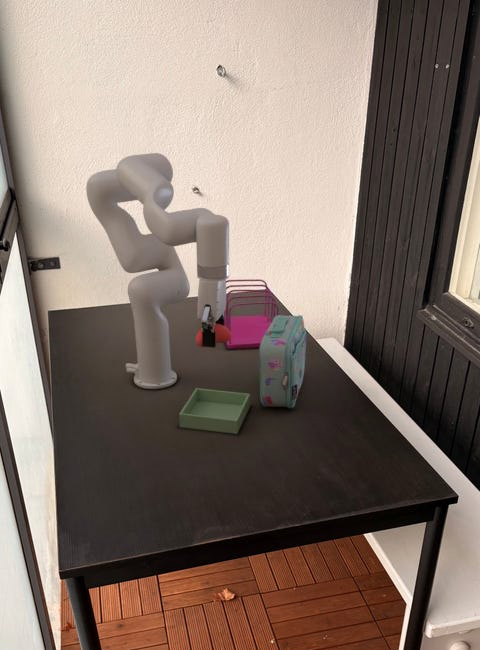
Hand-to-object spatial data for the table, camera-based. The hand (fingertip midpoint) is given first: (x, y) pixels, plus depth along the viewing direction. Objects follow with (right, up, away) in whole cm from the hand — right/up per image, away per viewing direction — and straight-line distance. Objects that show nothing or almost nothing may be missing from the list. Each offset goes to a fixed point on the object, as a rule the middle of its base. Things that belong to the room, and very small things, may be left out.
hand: (213, 339), depth 161 cm
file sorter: (+9, +10, +61) cm, 62 cm away
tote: (0, -19, +11) cm, 22 cm away
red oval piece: (0, -1, +1) cm, 1 cm away
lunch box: (+19, -13, +22) cm, 32 cm away
